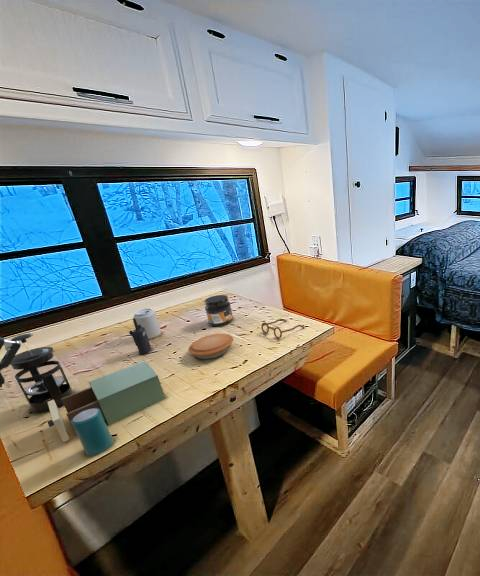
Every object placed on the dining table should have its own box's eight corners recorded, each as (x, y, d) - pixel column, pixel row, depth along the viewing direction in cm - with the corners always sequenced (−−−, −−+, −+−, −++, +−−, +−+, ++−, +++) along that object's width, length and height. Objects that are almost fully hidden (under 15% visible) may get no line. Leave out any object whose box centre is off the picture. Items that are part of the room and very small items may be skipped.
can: (163, 335, 132) (156, 310, 128) (142, 342, 127) (133, 316, 123) (159, 330, 137) (151, 305, 132) (139, 336, 132) (130, 311, 127)
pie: (234, 338, 128) (232, 327, 127) (235, 356, 115) (232, 344, 113) (192, 347, 122) (189, 336, 121) (188, 367, 109) (184, 355, 107)
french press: (25, 407, 91) (-11, 339, 83) (66, 388, 99) (36, 325, 91) (41, 419, 87) (5, 349, 79) (83, 398, 94) (54, 333, 86)
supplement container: (217, 329, 136) (211, 304, 132) (204, 324, 142) (198, 300, 138) (238, 320, 145) (233, 296, 141) (225, 315, 150) (220, 292, 146)
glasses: (261, 332, 132) (259, 322, 131) (285, 321, 143) (284, 311, 141) (281, 340, 126) (279, 329, 124) (305, 328, 136) (303, 317, 134)
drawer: (56, 445, 77) (45, 424, 74) (51, 424, 83) (40, 404, 81) (124, 413, 87) (116, 394, 84) (114, 397, 93) (107, 378, 91)
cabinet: (108, 425, 84) (97, 400, 81) (98, 405, 91) (88, 381, 88) (165, 398, 94) (157, 375, 91) (152, 382, 101) (144, 360, 98)
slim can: (88, 459, 74) (72, 426, 70) (84, 448, 77) (68, 416, 73) (115, 445, 77) (101, 413, 74) (110, 435, 80) (97, 404, 77)
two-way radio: (148, 354, 118) (136, 319, 113) (134, 356, 116) (122, 321, 111) (152, 347, 123) (141, 313, 118) (139, 349, 121) (127, 315, 116)
